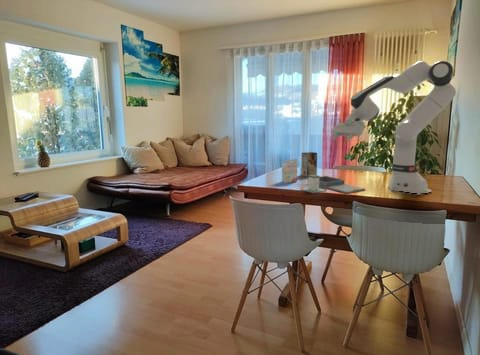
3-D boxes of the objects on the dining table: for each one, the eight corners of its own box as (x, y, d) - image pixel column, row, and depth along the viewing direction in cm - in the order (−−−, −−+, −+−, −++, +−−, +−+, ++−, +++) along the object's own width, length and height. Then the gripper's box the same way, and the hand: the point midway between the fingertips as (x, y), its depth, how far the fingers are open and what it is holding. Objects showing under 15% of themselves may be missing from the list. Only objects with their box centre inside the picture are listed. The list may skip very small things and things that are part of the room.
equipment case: (365, 190, 191) (365, 184, 191) (346, 193, 183) (347, 187, 183) (325, 181, 217) (325, 175, 216) (307, 183, 209) (308, 178, 208)
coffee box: (310, 174, 242) (311, 151, 239) (316, 175, 237) (317, 152, 234) (300, 175, 238) (301, 152, 235) (306, 176, 232) (307, 153, 229)
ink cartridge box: (293, 180, 219) (293, 158, 217) (297, 182, 215) (297, 159, 212) (281, 181, 216) (281, 158, 214) (285, 183, 212) (285, 159, 209)
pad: (326, 190, 190) (326, 190, 190) (313, 193, 185) (313, 192, 185) (313, 187, 199) (313, 186, 198) (300, 189, 193) (300, 188, 193)
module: (318, 189, 191) (319, 175, 189) (313, 190, 189) (314, 176, 187) (313, 188, 195) (313, 174, 193) (308, 189, 193) (308, 175, 191)
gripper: (336, 119, 212) (325, 135, 208) (363, 119, 195) (352, 137, 191) (341, 126, 215) (329, 142, 211) (368, 126, 198) (356, 144, 194)
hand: (340, 140), depth 201 cm, fingers open, 8 cm apart
